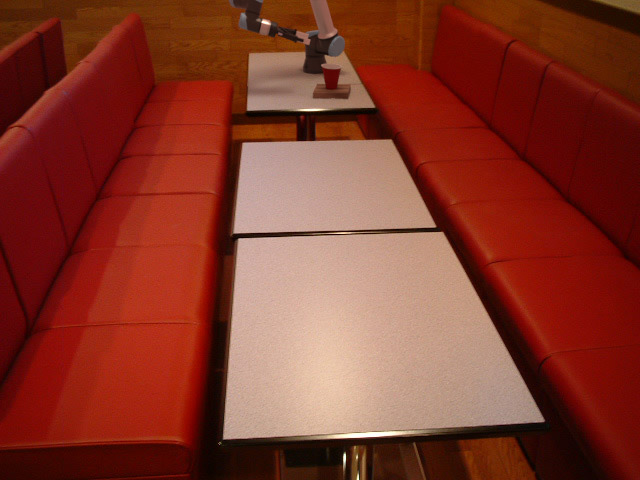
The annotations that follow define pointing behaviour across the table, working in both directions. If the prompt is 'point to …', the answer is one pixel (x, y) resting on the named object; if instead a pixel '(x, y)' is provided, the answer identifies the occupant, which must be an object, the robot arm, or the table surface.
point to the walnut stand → (332, 91)
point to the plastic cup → (331, 75)
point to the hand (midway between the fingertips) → (309, 39)
